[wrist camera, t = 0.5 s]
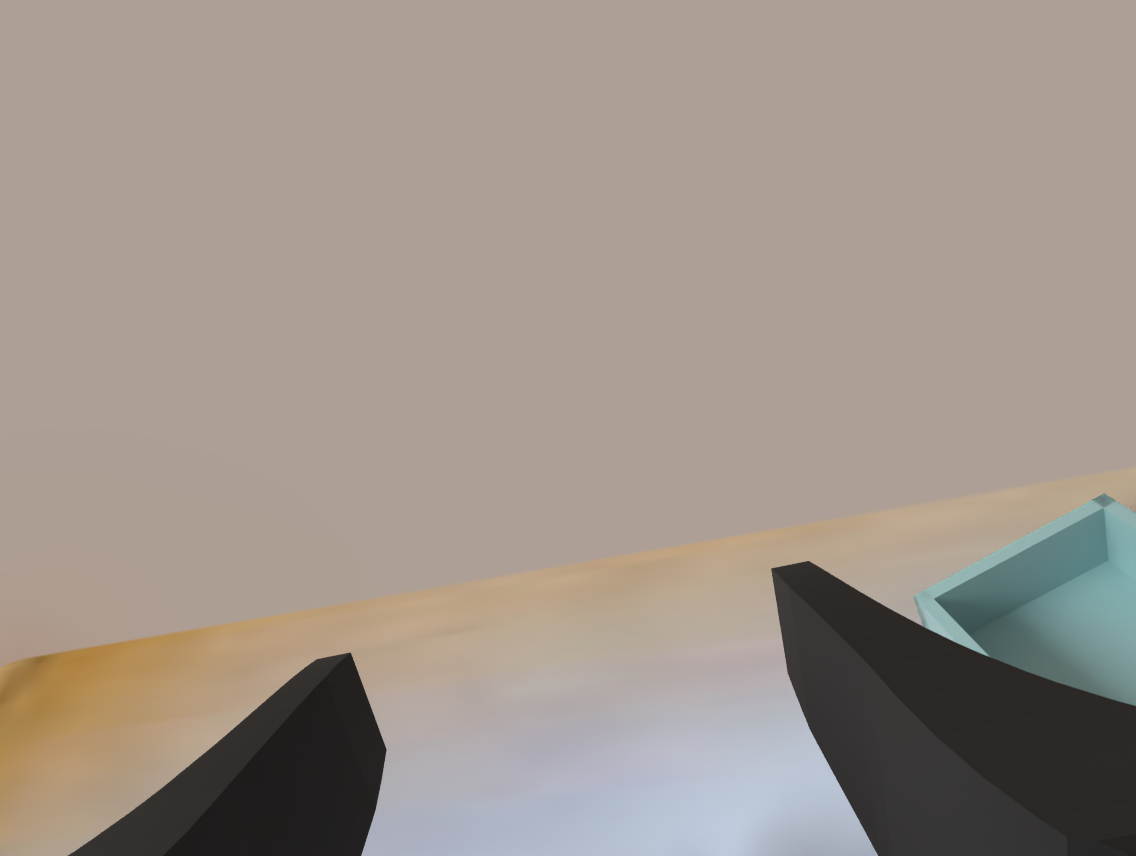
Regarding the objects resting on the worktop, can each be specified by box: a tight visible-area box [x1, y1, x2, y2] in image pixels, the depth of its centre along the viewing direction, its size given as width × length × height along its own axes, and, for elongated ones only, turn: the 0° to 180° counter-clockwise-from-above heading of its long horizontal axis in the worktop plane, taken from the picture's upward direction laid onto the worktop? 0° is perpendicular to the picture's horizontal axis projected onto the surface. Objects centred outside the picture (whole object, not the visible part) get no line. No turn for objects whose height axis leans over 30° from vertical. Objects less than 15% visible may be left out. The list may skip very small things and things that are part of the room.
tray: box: [914, 494, 1136, 706], centre depth 24 cm, size 7×8×4 cm
